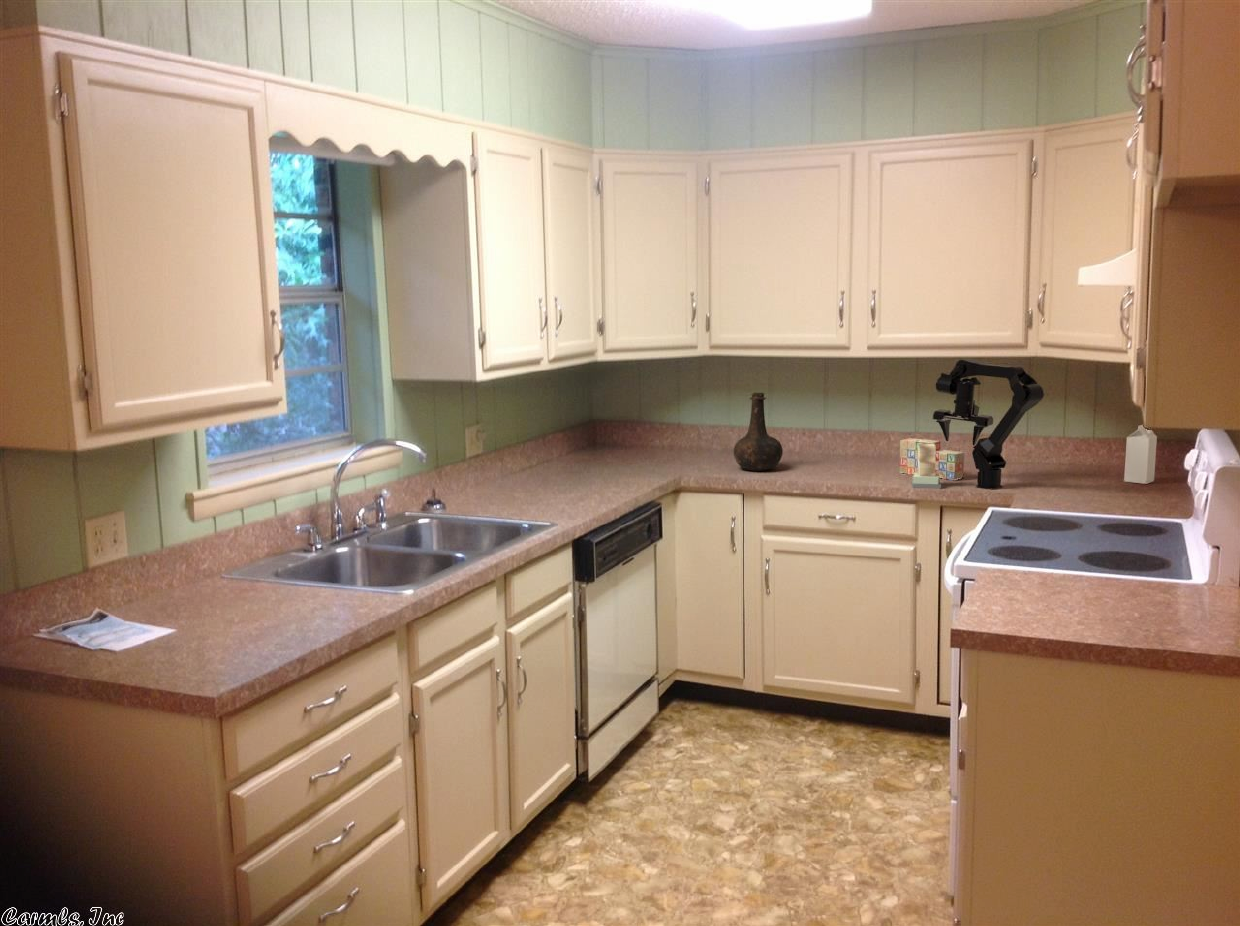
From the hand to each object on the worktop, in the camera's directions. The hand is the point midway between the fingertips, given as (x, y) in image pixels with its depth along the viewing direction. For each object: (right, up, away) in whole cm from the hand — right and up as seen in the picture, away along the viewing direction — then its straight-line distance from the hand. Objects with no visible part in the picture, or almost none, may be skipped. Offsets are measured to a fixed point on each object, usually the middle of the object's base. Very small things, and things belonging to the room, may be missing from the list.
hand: (960, 443), depth 361 cm
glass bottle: (-64, -9, +33) cm, 72 cm away
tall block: (-13, -11, -5) cm, 17 cm away
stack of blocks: (-6, -12, +13) cm, 19 cm away
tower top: (-13, -13, -4) cm, 19 cm away
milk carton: (+58, -13, -3) cm, 60 cm away
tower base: (-13, -15, -4) cm, 20 cm away
